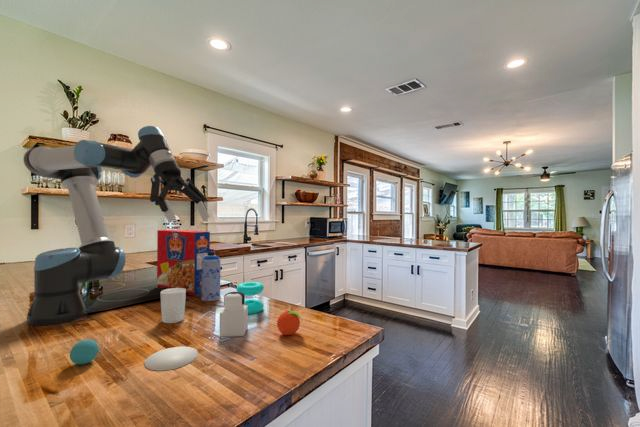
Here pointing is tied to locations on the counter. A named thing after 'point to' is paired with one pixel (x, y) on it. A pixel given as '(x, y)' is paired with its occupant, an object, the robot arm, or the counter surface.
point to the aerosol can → (210, 277)
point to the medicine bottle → (234, 315)
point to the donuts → (251, 289)
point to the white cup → (173, 304)
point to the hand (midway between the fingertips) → (190, 219)
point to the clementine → (288, 322)
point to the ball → (84, 351)
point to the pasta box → (181, 259)
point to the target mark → (171, 358)
